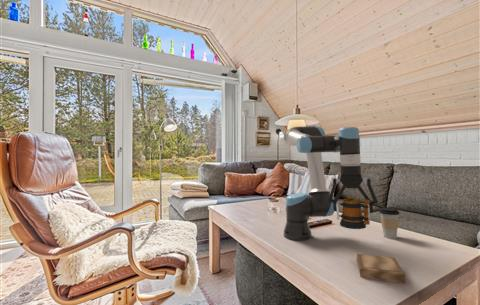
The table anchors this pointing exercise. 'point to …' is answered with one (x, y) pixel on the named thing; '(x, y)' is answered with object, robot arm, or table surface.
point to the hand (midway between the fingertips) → (353, 220)
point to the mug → (354, 214)
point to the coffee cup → (389, 221)
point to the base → (380, 268)
